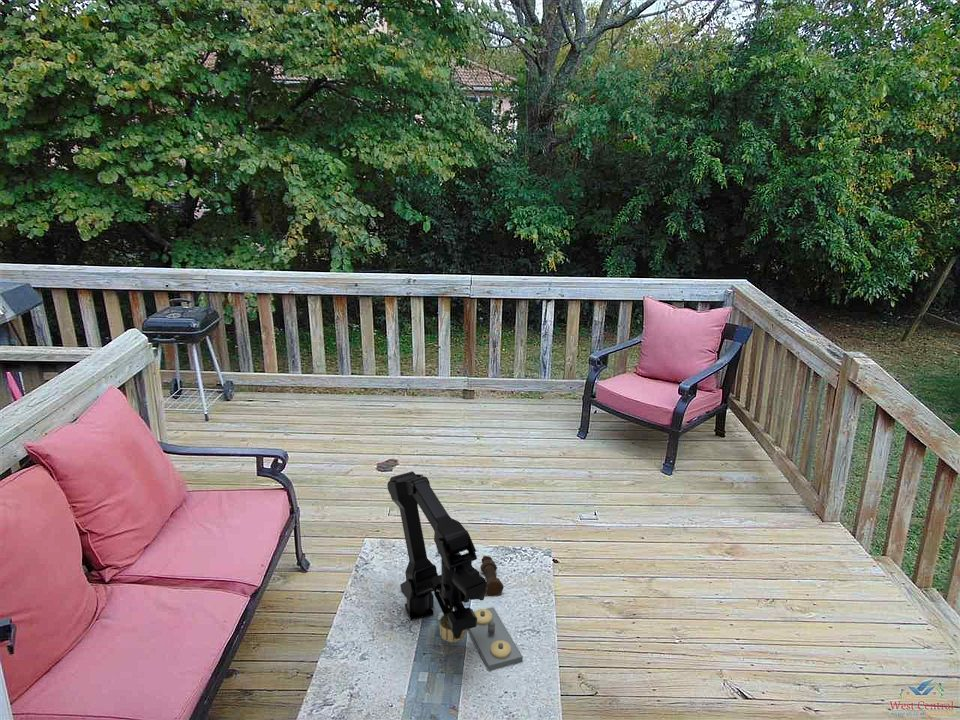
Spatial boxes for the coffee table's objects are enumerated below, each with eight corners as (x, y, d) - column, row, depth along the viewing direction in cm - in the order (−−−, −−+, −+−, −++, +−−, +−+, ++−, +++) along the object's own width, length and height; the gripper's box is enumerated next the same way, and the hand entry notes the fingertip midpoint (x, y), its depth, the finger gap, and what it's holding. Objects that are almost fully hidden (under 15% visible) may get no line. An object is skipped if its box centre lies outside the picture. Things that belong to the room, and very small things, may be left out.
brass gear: (444, 644, 160) (444, 632, 158) (436, 627, 165) (436, 615, 164) (469, 638, 162) (469, 626, 161) (460, 621, 167) (460, 610, 166)
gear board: (488, 670, 159) (489, 652, 157) (462, 619, 176) (462, 601, 174) (522, 661, 162) (523, 643, 160) (493, 611, 179) (493, 594, 177)
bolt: (488, 569, 200) (496, 600, 186) (474, 563, 199) (481, 593, 184) (498, 554, 199) (506, 584, 185) (484, 548, 198) (491, 577, 183)
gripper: (498, 592, 153) (496, 646, 158) (471, 548, 169) (470, 599, 174) (453, 602, 149) (452, 658, 154) (430, 557, 166) (430, 608, 170)
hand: (452, 629), depth 163 cm, fingers closed on brass gear, 6 cm apart
